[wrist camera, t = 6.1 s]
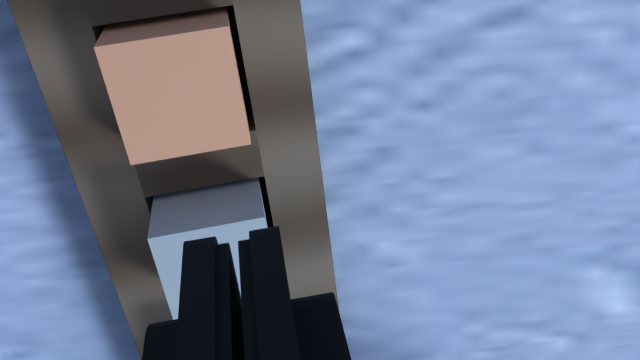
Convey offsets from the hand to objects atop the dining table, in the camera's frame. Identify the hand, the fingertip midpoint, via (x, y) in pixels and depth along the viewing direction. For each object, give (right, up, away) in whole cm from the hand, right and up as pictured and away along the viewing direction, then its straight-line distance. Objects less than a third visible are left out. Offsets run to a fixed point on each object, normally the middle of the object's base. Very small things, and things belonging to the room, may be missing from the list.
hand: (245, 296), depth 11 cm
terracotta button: (-5, +7, +16) cm, 19 cm away
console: (-4, +1, +21) cm, 21 cm away
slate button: (-4, 0, +19) cm, 20 cm away
